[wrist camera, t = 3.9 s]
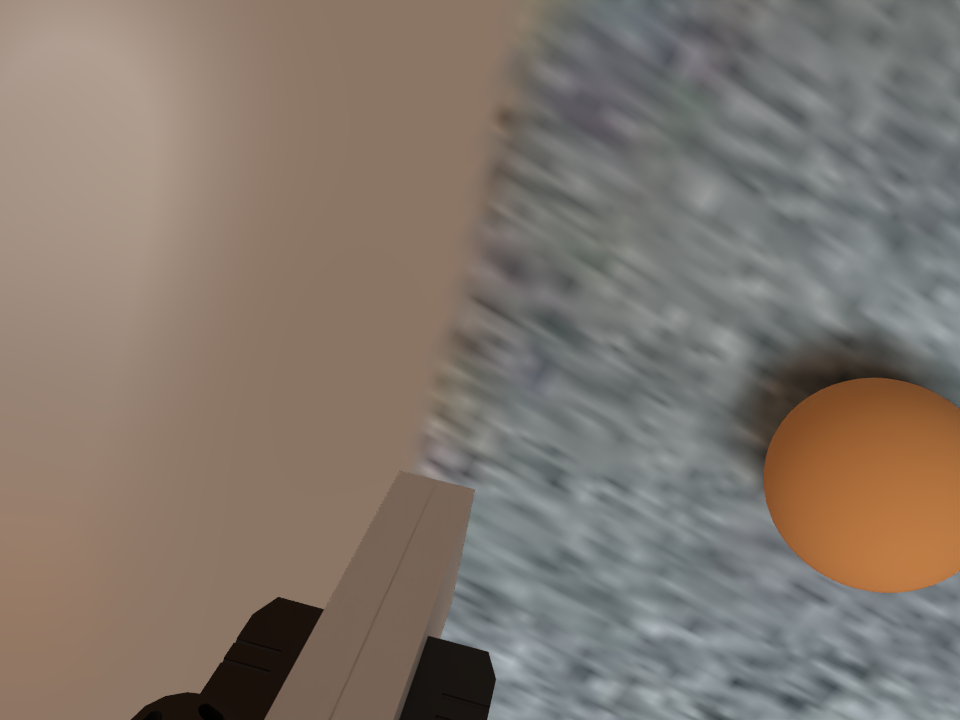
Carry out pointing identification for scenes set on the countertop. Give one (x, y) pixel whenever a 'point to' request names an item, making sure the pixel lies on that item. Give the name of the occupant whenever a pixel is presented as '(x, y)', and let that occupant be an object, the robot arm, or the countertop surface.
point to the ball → (869, 484)
